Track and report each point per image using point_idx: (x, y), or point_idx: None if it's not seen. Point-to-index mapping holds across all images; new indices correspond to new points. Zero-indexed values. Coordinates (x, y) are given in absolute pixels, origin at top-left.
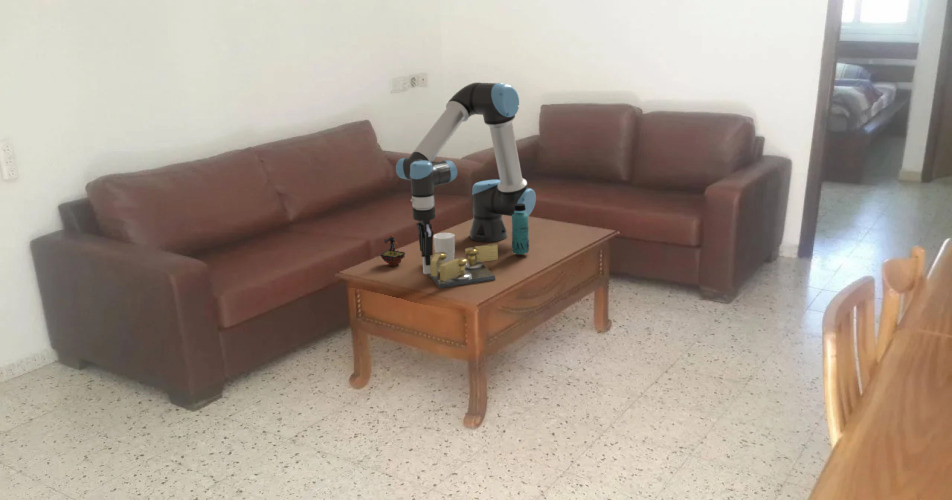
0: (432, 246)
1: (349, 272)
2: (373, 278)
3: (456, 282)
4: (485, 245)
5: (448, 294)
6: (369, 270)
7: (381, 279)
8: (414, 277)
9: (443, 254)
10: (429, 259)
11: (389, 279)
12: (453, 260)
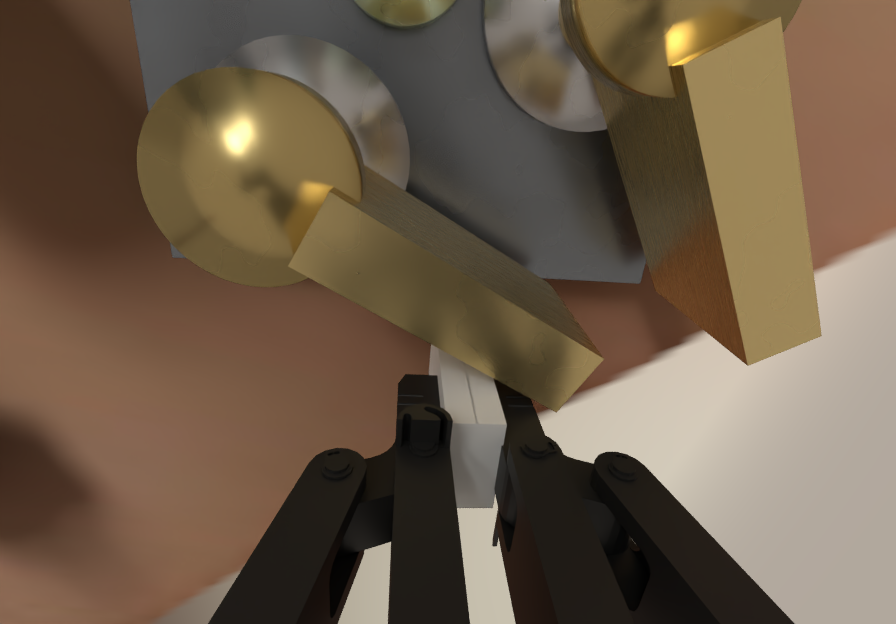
0: (776, 608)
1: None
2: (203, 567)
3: None
4: None
5: None
6: (24, 562)
7: (240, 536)
8: (286, 360)
9: (293, 134)
10: (538, 427)
11: (260, 501)
12: (733, 135)
